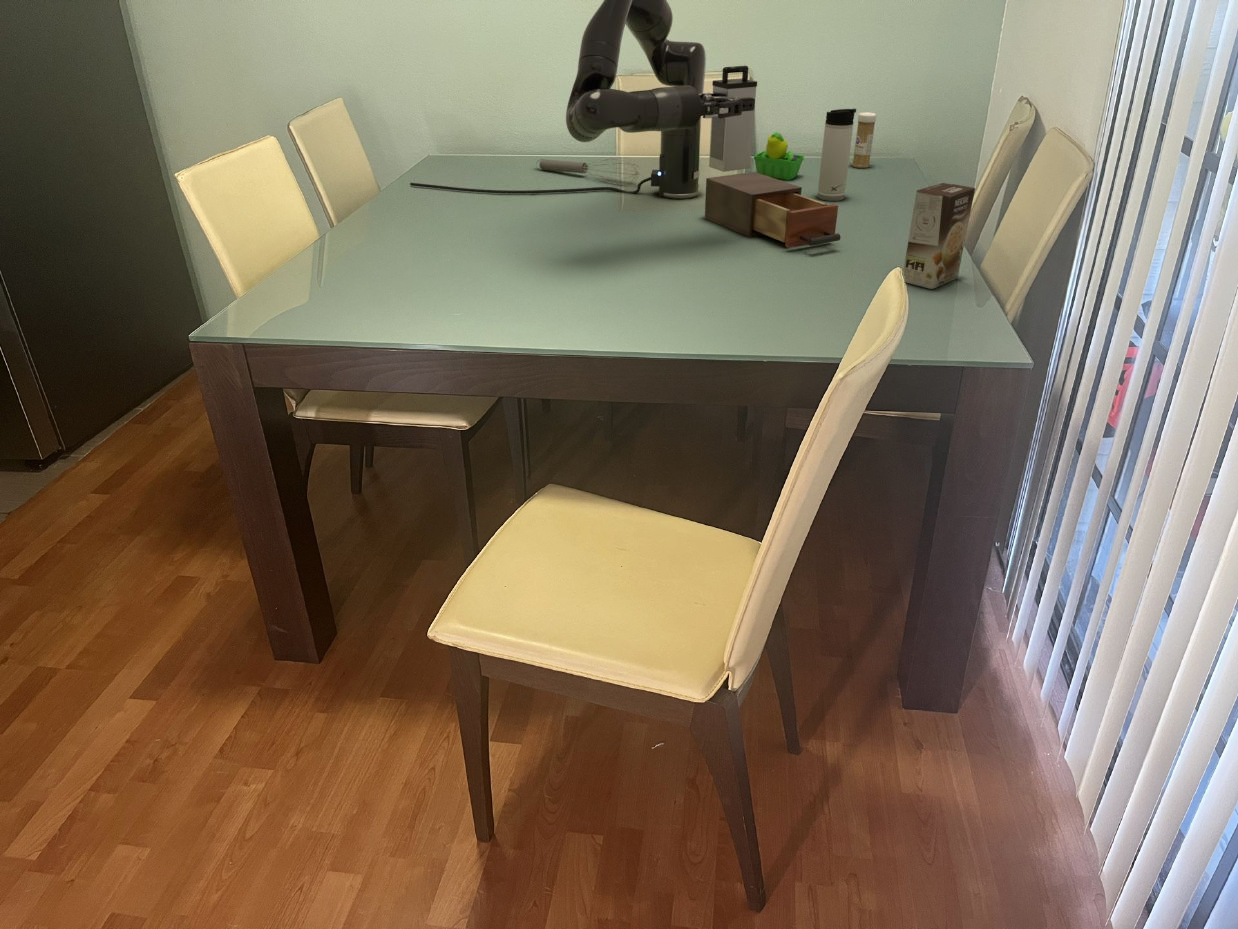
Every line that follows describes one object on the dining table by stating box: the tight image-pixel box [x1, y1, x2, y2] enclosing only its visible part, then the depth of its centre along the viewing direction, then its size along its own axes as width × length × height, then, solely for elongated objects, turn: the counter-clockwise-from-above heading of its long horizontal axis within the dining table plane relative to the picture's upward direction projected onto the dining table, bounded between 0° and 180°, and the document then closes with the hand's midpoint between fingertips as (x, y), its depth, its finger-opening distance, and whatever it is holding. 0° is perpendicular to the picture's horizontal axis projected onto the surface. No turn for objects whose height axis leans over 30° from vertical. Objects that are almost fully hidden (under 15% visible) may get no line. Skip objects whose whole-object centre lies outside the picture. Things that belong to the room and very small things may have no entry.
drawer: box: [753, 193, 842, 249], centre depth 180 cm, size 20×11×7 cm, turn 29°
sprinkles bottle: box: [851, 111, 877, 169], centre depth 237 cm, size 5×5×13 cm
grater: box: [708, 65, 758, 173], centre depth 173 cm, size 5×7×18 cm
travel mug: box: [816, 108, 857, 202], centre depth 207 cm, size 6×7×20 cm
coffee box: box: [902, 182, 976, 290], centre depth 157 cm, size 9×6×16 cm
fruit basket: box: [753, 131, 805, 181], centre depth 228 cm, size 11×9×11 cm
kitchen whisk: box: [535, 157, 641, 186], centre depth 230 cm, size 6×34×6 cm, turn 52°
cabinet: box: [704, 171, 803, 238], centre depth 191 cm, size 17×13×9 cm
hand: (744, 101), depth 173 cm, fingers closed on grater, 5 cm apart
